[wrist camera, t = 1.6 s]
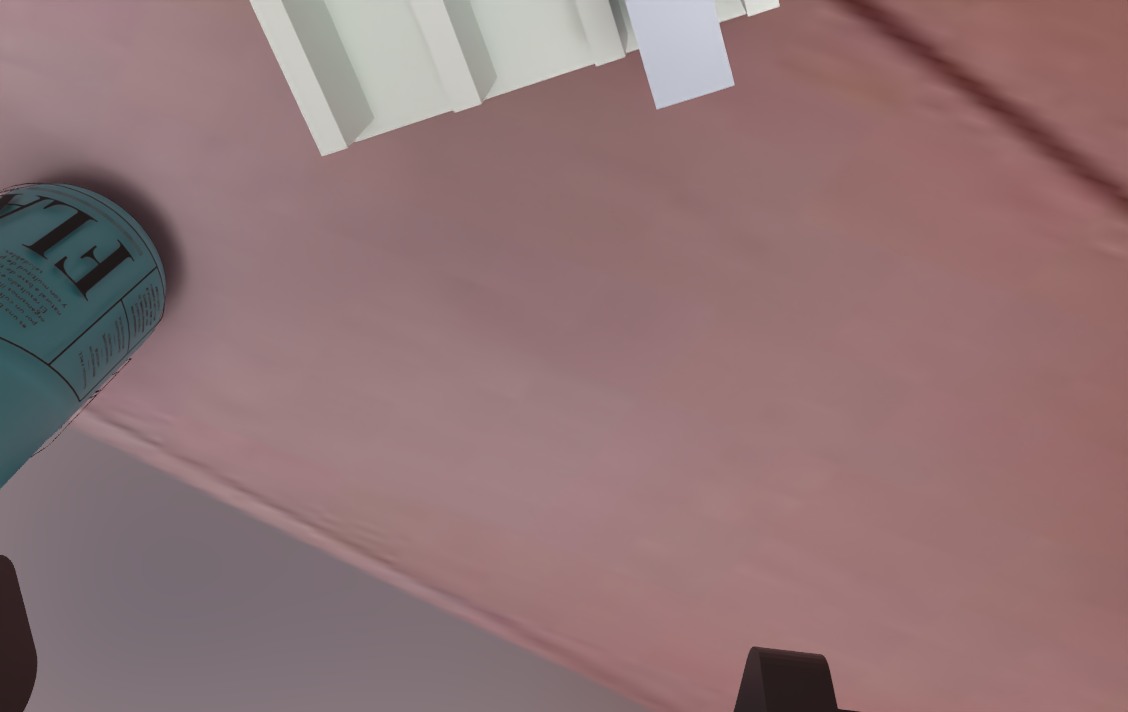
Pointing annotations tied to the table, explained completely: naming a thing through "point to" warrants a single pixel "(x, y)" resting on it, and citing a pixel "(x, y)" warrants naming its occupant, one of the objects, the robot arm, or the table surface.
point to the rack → (436, 54)
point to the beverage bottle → (66, 307)
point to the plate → (680, 48)
